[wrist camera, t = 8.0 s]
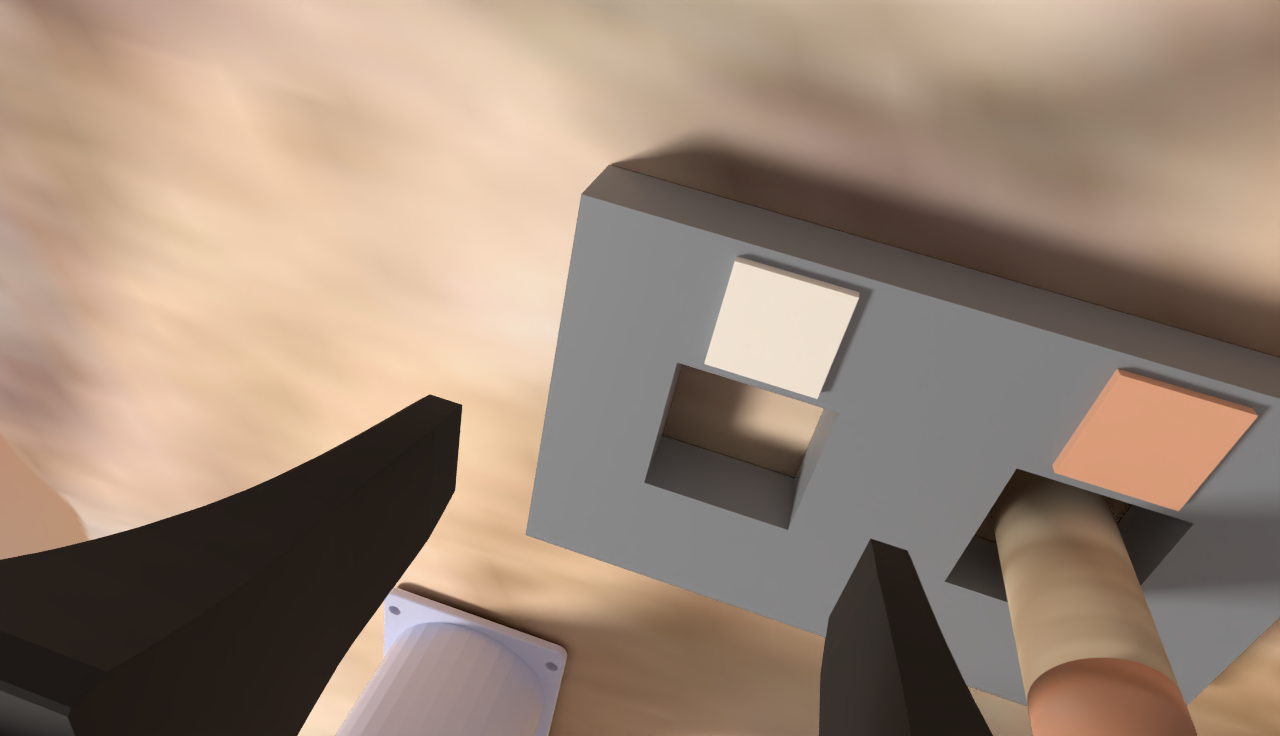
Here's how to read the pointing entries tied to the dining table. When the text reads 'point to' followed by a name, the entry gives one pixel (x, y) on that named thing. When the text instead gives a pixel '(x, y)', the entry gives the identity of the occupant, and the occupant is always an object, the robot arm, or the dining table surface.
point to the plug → (1081, 617)
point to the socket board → (895, 427)
